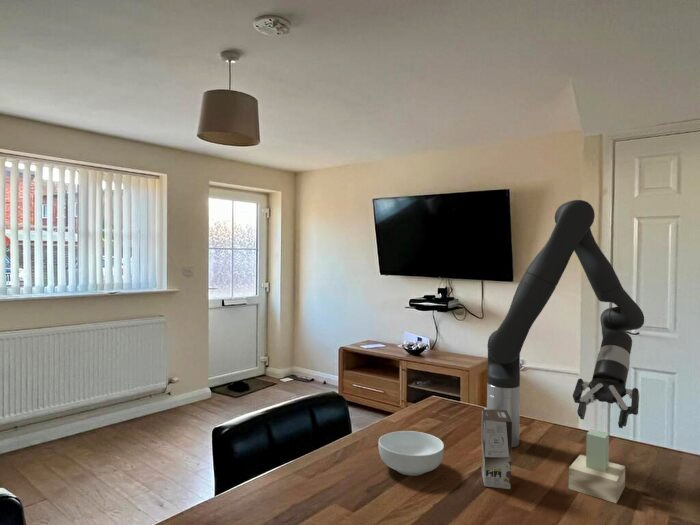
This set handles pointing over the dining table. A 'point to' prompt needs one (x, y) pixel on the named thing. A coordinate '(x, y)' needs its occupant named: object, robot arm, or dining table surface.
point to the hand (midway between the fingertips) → (600, 422)
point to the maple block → (597, 480)
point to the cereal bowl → (411, 452)
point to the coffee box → (496, 448)
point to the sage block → (597, 450)
